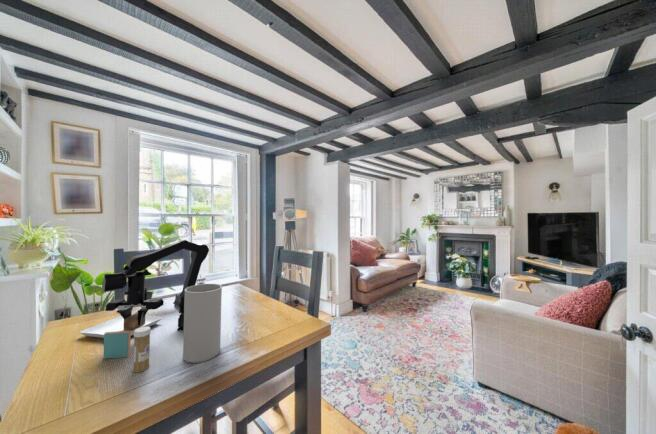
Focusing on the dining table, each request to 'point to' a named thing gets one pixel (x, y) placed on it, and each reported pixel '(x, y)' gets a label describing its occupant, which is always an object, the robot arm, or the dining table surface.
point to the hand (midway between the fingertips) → (134, 325)
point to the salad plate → (115, 326)
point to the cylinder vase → (202, 322)
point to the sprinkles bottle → (141, 349)
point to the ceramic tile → (117, 344)
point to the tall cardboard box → (132, 323)
